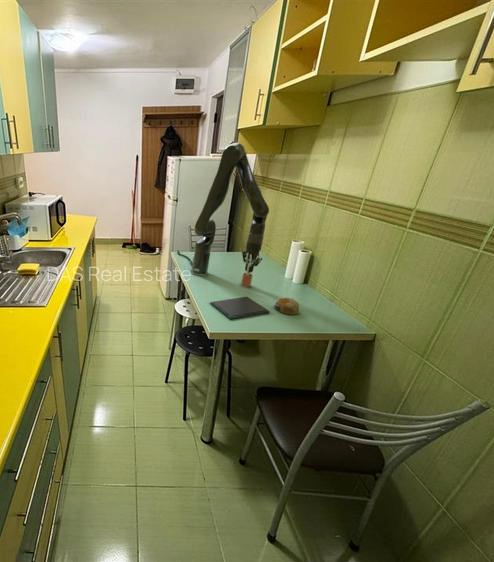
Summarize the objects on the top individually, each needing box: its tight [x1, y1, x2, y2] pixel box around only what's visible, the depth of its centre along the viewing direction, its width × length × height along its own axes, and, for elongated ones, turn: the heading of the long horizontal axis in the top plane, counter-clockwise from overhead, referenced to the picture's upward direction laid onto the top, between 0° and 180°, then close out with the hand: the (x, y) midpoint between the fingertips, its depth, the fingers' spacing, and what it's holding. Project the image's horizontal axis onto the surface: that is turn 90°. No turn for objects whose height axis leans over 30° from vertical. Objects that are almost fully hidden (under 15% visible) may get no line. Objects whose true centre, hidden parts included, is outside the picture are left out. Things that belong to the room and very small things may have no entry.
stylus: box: [245, 262, 251, 276], centre depth 168 cm, size 2×2×13 cm
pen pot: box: [240, 272, 254, 288], centre depth 170 cm, size 5×5×7 cm
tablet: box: [209, 296, 271, 320], centre depth 147 cm, size 16×22×1 cm
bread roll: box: [274, 297, 300, 316], centre depth 145 cm, size 10×10×8 cm
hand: (248, 271), depth 168 cm, fingers closed on stylus, 2 cm apart
